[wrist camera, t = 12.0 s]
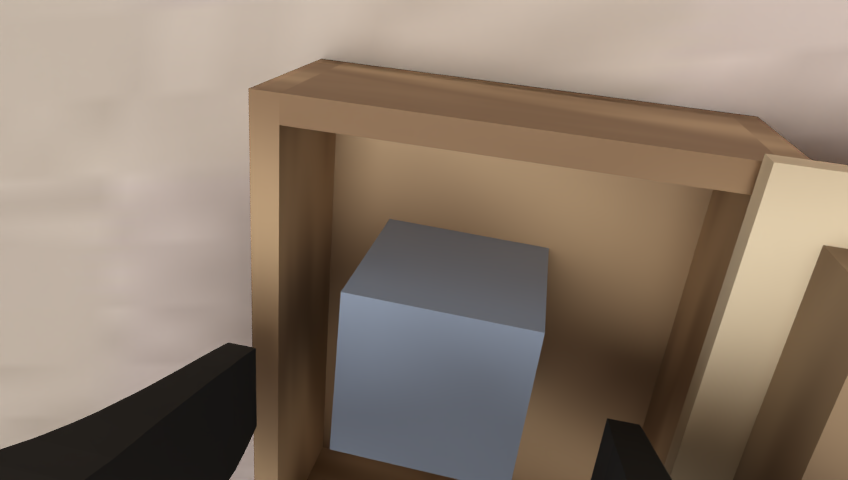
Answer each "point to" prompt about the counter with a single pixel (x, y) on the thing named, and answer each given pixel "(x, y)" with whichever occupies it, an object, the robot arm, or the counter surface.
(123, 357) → the counter surface
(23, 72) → the counter surface
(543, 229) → the wooden box
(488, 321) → the block
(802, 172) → the lid
